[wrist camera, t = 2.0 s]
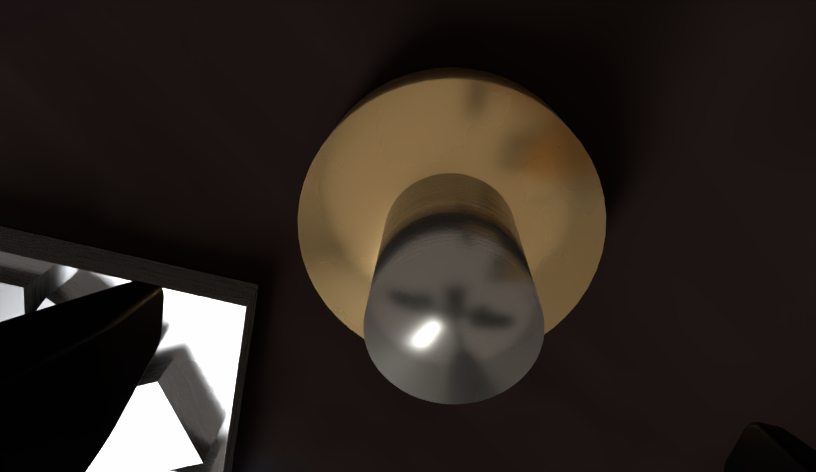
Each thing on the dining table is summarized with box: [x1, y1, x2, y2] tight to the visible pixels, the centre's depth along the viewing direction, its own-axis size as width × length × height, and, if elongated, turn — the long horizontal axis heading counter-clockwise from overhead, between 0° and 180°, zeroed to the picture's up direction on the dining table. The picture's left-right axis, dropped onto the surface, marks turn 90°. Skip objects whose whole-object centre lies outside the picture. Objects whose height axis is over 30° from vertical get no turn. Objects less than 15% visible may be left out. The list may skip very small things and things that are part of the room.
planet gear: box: [298, 67, 606, 404], centre depth 13 cm, size 7×7×6 cm
